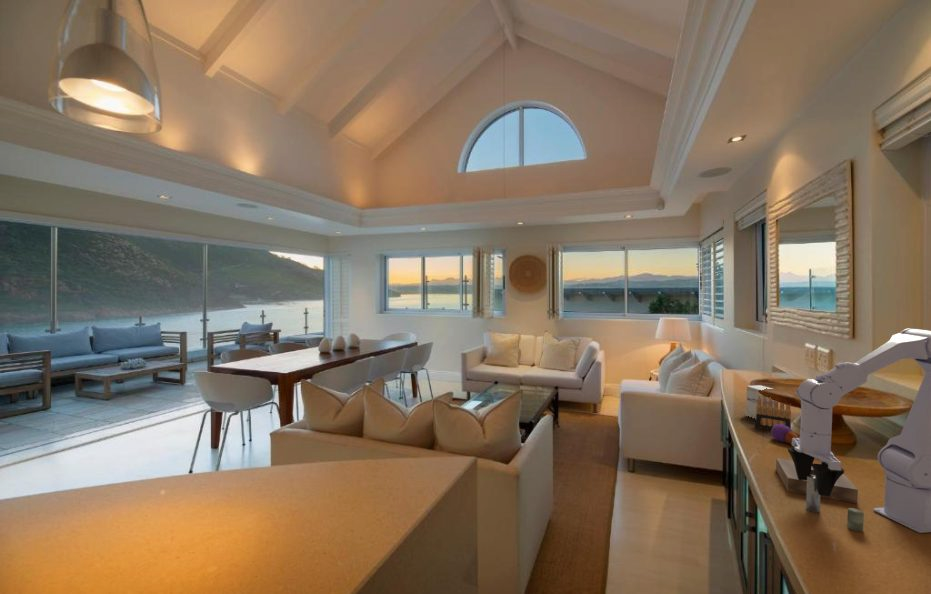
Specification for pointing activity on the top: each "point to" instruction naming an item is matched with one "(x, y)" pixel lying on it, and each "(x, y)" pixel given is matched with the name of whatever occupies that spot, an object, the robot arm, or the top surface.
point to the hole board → (793, 484)
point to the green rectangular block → (855, 519)
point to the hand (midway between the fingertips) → (813, 487)
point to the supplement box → (755, 400)
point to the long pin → (812, 495)
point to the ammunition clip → (772, 414)
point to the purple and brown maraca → (784, 434)
